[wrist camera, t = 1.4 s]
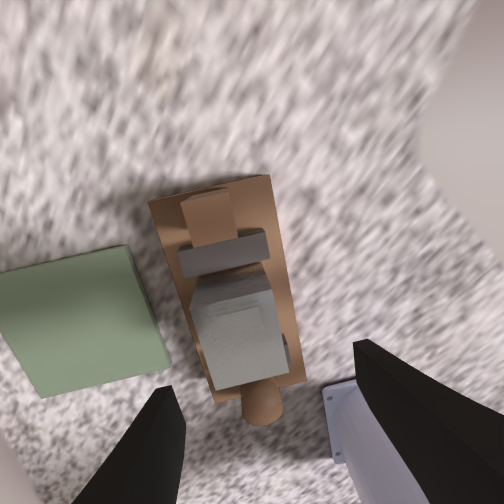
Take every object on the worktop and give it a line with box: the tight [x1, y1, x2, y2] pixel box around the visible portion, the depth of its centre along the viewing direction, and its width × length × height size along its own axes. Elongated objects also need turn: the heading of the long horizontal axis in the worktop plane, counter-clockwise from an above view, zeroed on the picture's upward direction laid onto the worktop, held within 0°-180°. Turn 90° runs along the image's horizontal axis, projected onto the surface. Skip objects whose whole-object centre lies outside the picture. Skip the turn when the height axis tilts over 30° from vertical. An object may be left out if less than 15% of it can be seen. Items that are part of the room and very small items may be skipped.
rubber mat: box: [0, 245, 172, 399], centre depth 18 cm, size 10×10×1 cm
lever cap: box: [189, 262, 289, 391], centre depth 14 cm, size 5×4×5 cm
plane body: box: [148, 175, 307, 426], centre depth 16 cm, size 15×7×6 cm, turn 12°
